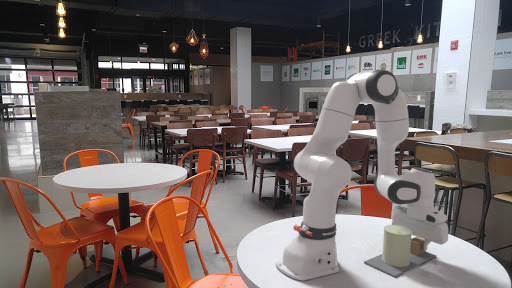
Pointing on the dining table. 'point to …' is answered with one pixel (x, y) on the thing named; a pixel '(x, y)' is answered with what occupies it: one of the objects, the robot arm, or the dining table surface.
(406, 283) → the dining table surface
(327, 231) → the robot arm
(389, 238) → the can
